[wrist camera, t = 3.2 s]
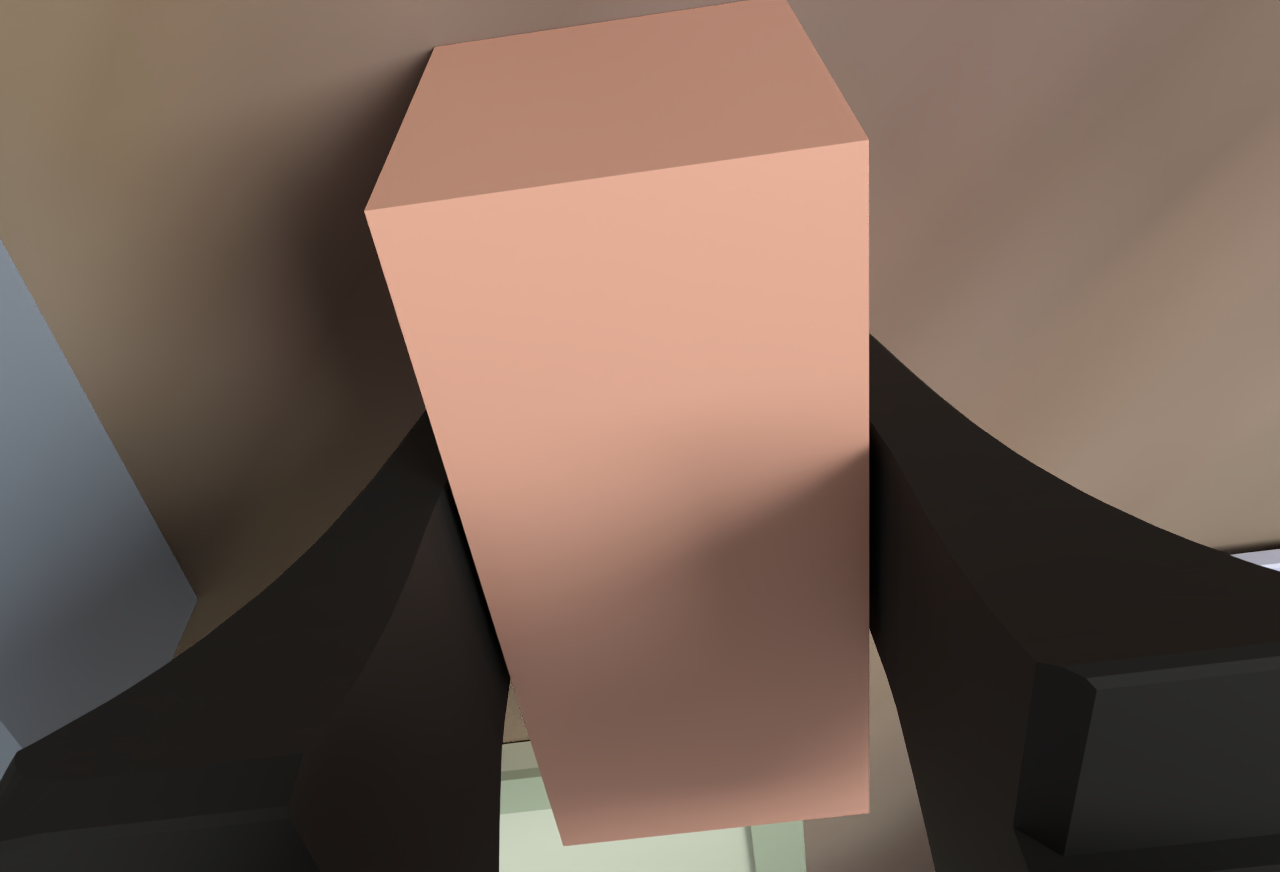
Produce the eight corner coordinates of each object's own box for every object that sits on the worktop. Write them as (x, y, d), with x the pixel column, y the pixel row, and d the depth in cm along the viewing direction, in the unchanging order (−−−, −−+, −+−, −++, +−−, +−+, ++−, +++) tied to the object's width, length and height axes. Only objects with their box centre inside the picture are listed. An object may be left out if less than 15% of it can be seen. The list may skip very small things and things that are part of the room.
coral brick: (783, -5, 12) (868, 140, 8) (810, 570, 17) (869, 813, 13) (434, 47, 12) (364, 211, 8) (569, 598, 17) (563, 846, 14)
